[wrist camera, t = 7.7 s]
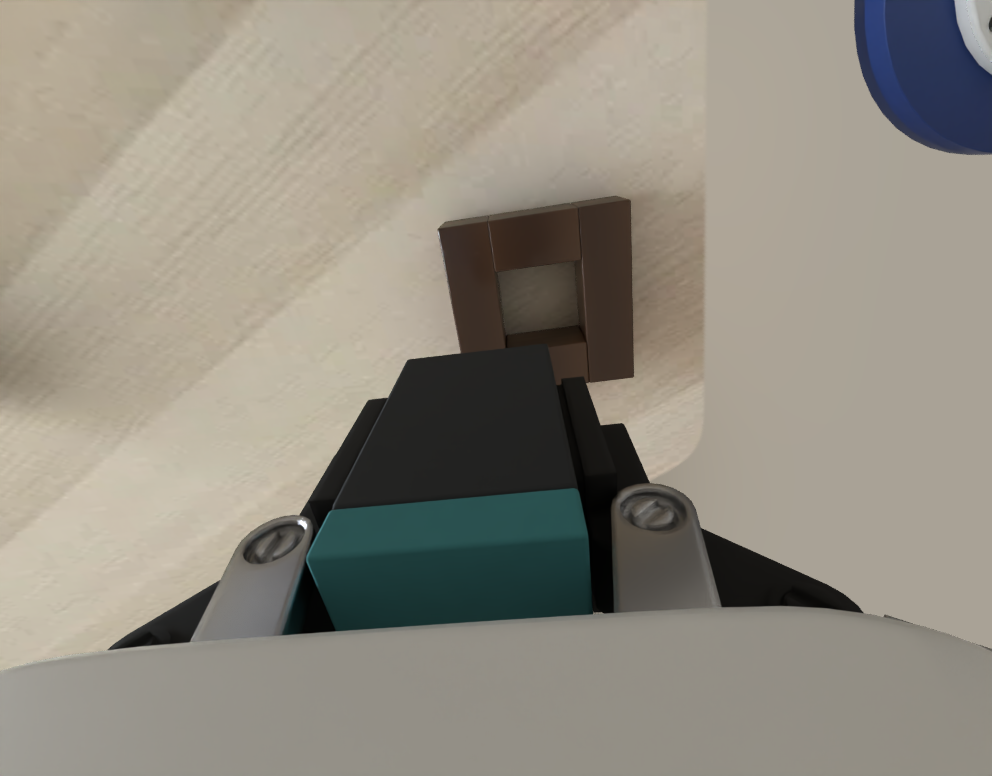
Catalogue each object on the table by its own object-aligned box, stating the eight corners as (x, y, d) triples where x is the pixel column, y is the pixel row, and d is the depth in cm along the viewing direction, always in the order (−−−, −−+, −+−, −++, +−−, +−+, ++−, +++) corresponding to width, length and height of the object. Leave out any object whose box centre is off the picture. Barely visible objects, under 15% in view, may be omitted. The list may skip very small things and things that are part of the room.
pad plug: (547, 341, 12) (588, 535, 6) (558, 461, 14) (599, 711, 8) (406, 358, 12) (302, 558, 6) (433, 473, 14) (373, 722, 8)
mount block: (616, 195, 25) (631, 199, 22) (622, 357, 29) (634, 377, 26) (444, 222, 25) (437, 228, 23) (472, 376, 29) (469, 398, 27)
